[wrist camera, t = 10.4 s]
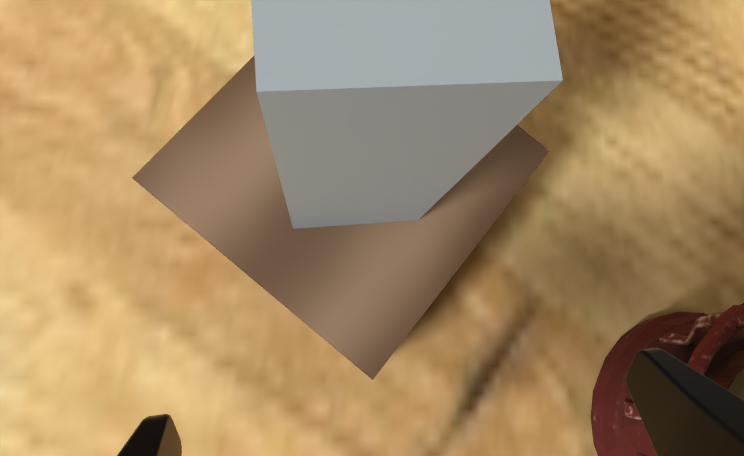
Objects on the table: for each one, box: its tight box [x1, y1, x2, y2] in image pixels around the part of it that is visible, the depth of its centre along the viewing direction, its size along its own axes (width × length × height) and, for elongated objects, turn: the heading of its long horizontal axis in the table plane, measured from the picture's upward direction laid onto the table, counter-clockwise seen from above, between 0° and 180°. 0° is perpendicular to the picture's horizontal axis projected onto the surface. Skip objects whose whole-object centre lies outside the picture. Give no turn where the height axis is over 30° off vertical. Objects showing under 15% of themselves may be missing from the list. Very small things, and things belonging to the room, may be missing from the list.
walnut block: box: [133, 55, 549, 380], centre depth 22 cm, size 12×12×4 cm
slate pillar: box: [251, 0, 563, 229], centre depth 14 cm, size 5×5×12 cm
